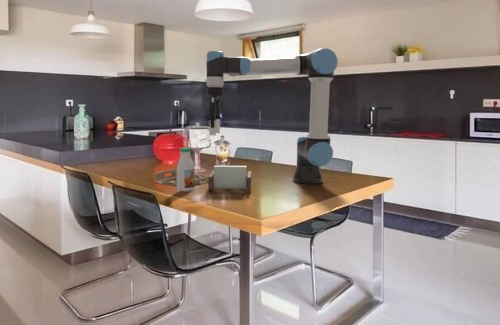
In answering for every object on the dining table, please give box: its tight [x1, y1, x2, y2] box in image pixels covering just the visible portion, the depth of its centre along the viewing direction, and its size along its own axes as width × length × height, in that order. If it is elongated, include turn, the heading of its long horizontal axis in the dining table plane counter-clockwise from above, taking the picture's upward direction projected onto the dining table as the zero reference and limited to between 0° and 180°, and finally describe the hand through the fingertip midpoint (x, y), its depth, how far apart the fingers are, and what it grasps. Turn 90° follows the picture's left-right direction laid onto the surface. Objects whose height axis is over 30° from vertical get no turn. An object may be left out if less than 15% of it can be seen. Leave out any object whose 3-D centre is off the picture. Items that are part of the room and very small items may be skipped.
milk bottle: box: [176, 147, 195, 193], centre depth 175 cm, size 8×8×20 cm
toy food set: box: [153, 168, 209, 187], centre depth 198 cm, size 25×18×8 cm
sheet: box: [213, 164, 248, 188], centre depth 173 cm, size 14×4×11 cm, turn 89°
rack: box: [208, 170, 252, 195], centre depth 177 cm, size 18×16×8 cm
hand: (214, 134), depth 181 cm, fingers open, 13 cm apart
